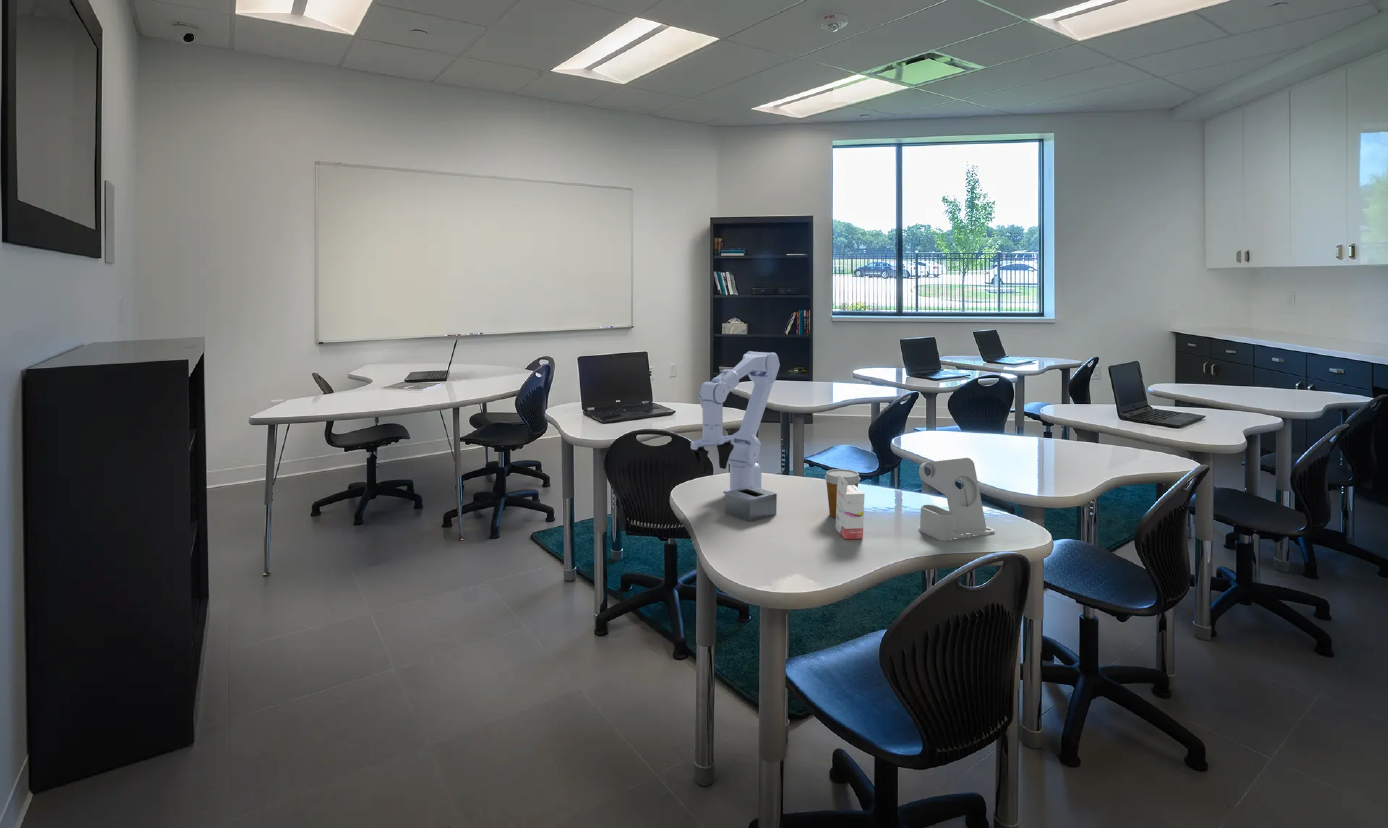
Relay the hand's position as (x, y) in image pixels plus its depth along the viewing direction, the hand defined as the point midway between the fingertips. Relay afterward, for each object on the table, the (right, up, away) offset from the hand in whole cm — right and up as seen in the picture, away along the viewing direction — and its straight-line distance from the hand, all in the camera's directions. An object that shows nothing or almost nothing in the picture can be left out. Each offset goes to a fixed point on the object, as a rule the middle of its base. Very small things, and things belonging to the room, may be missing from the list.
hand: (712, 470), depth 206 cm
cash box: (+10, -11, -8) cm, 17 cm away
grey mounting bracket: (+61, -14, -23) cm, 67 cm away
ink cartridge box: (+34, -14, -25) cm, 44 cm away
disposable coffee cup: (+35, -12, -10) cm, 38 cm away
